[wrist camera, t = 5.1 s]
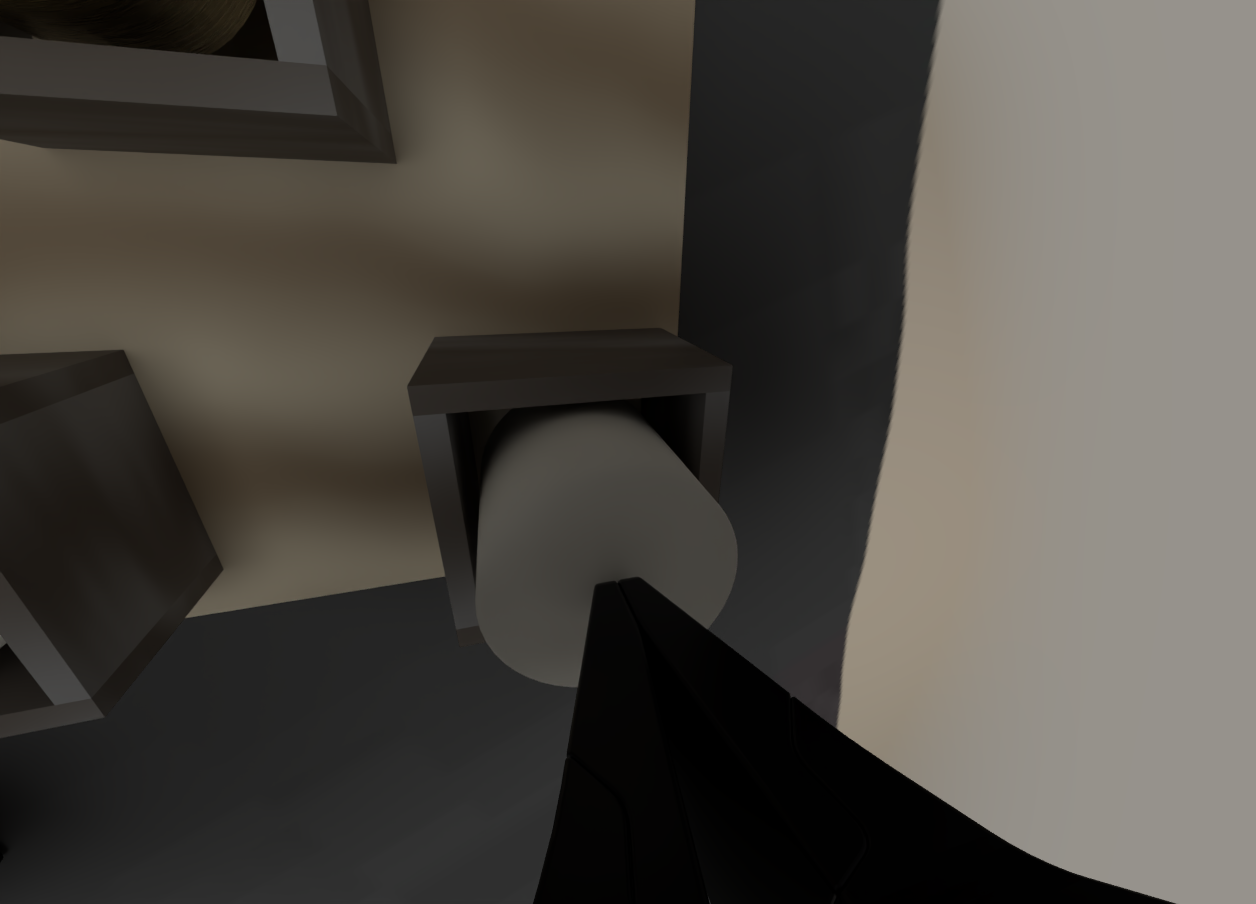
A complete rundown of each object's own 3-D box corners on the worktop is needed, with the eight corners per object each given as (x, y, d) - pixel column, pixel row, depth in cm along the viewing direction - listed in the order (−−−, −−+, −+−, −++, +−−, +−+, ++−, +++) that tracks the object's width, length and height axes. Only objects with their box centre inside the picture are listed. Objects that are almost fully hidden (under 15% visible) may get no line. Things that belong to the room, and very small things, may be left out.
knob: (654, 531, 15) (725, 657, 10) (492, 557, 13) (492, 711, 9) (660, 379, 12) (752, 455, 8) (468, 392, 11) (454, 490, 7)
